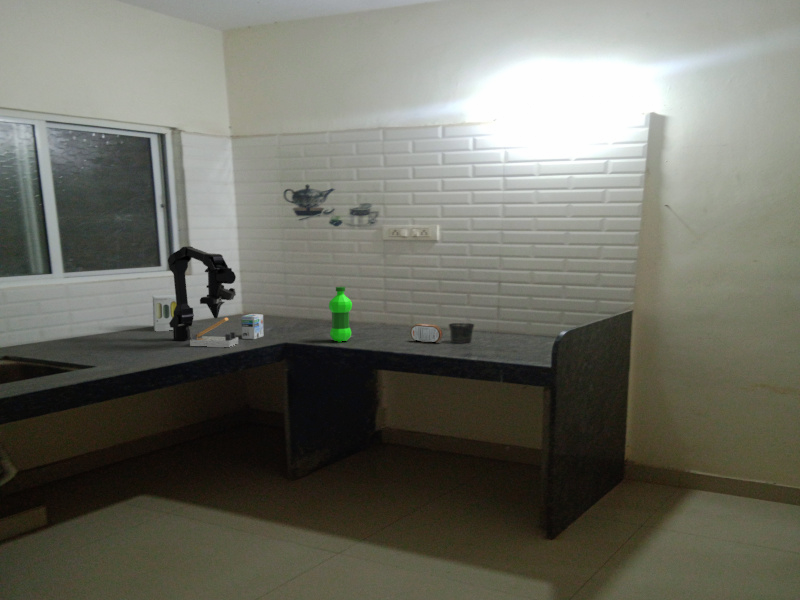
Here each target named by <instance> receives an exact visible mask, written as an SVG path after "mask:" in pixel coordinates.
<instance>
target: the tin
mask: <svg viewBox="0 0 800 600" xmlns="http://www.w3.org/2000/svg"><path fill="white" fill-rule="evenodd" d="M409 334H410V337H411V339H412V340H413V341H414V340H419V341H432V342H436V343H438V341H439V342H440V341H441V340H442V338H443V330H442V329H441V327H440V326H439V325H437V324H430V323H416V324H415V325H413V326H411V329H410V333H409Z"/></svg>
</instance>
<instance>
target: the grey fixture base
mask: <svg viewBox="0 0 800 600" xmlns="http://www.w3.org/2000/svg"><path fill="white" fill-rule="evenodd" d="M200 332H201V331H200ZM200 332H199V331H198V332H197V333H196V334H195V333H193V334H192V335H191V339H189V346H207V347H206V348H224V347H230V346H232V347H234V346H236V345H235V344H237V345H239V336H236V332H234V331H230V332H229V333H225V336H211V335H209V336H205V335H202V336H200V337H198V338H197V334H199V333H200ZM233 345H234V346H233ZM230 348H231V347H230Z"/></svg>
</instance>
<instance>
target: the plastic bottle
mask: <svg viewBox="0 0 800 600" xmlns="http://www.w3.org/2000/svg"><path fill="white" fill-rule="evenodd" d="M335 292H336V295H335V296H334V297H333V298H332V299H331V300H330V301H329V303H328V307H329V311H330V312H331V329H330V331H329V336H330V338H331V339H332V340H334V342H335V341H338V342H337V343H342V342H341V341H346V342H347V341H348V340H349V339H350V338H351V337H352V329H351V327H350V311H352V308H353V302H352V300H351V299H350V298H349V297H348V296H346V294H345V292H346V286H335Z"/></svg>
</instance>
